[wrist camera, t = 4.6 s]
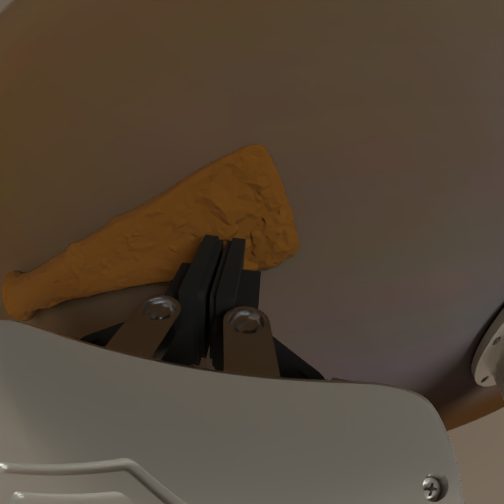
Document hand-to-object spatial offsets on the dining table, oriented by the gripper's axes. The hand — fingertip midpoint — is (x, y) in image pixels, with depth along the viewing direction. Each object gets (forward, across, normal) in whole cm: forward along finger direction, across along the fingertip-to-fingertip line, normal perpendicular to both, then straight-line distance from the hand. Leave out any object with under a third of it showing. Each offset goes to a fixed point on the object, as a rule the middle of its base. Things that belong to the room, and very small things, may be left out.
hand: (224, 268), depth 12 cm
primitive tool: (+2, +6, +1) cm, 7 cm away
